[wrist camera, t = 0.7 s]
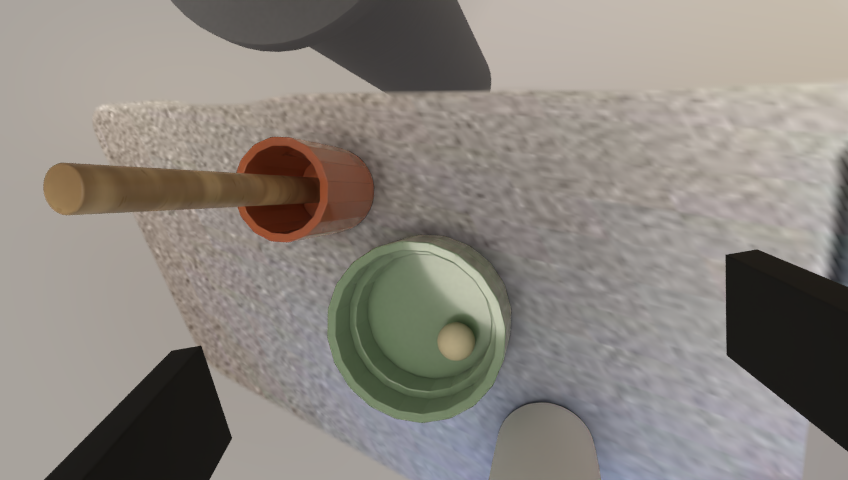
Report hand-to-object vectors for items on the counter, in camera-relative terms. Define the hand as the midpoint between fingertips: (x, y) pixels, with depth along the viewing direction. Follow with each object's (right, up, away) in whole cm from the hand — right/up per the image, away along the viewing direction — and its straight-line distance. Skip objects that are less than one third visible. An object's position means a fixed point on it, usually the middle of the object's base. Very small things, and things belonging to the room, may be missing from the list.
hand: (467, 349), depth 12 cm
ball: (+1, -5, +26) cm, 27 cm away
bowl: (-1, -3, +29) cm, 29 cm away
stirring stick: (-9, +7, +29) cm, 32 cm away
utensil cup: (-9, +7, +30) cm, 32 cm away
